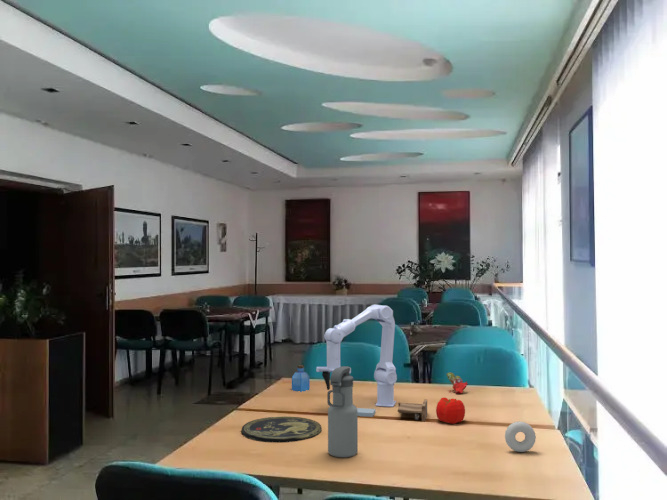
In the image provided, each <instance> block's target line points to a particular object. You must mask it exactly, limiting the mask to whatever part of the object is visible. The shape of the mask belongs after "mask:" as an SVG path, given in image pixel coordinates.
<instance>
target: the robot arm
mask: <svg viewBox="0 0 667 500" xmlns="http://www.w3.org/2000/svg"><path fill="white" fill-rule="evenodd" d="M370 319H373V320H375V321H377V322H378V323H379V324H380V325H381V326H382V328H381V340H380V341H381V342H380V343H381V344H380V355H379V356H380V357H379V362H378V363H377V364H376V367H375V370H374V372H373V373H374V374H373V378H374V380H375V381H376V384H377V385H376V386H377V387H376V390H377V391H376V393H377V395H376V396H377V397H376V398H377V399H376V400H377V401H376V403H375V407H389V408H390V407H392V408H394V407H395V405H396V403H397V400H394V399H395V397H394V395H395V390H394V389H395V387H394V386H395V383H396V382H397V380H398V375H397V372H396V370H397V368H396V366H395V365H394V363H393V359H394V358H393V357H394V356H393V355H394V345H395V343H394V342H395V329H396V327H395V326H396V321H395V318H394V310H393V309H392V308H391V307H390V306H388V305H381V304H377V303H375V304H371V305H370V306H367V308H366V309H364V310H363V311H362V312H361V313H359V314H357V315H356V316H355V317H353V318H352V319H350V318H347V319H346V318H343V320H342V322H340V323H338V324H335V325H333V327H332V328H331V327H330V328H328V329H326V331H325V333H324V335H323V338H324V340H325V341H326V366H316V369H315V370H316V372H317V373H319V372H320V373H321V376H322V379H323V380H324V382H325V386H326V390H327V391H330V389H331V384H330V379H331V373H332V372H333V371H334V369H336V368H339V367H341V342H342V340H343V339H344V338H345V337H347V336H348V335H350V334H351V333H352V332H354V331H355V330H356V327H357V326H359V325H361V324H363V323H365V322H366V321H368V320H370ZM351 373H352V368H351V367H350V371H349V374H351Z"/></svg>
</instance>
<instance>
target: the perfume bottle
mask: <svg viewBox="0 0 667 500" xmlns="http://www.w3.org/2000/svg"><path fill="white" fill-rule="evenodd" d="M296 369H297V371H295V372H294V373H293V375H292V377H291V391H292V390H293V392H298V391H300V393H302V391H303V392H307V391H310V390H311V389H310V388H311V387H310V385H311V384H310V383H311V381H310V379H311V378H310V376H309V374H308V373H307V372H306V371H305V365H303V364H302V365H301V364H298V365H297V368H296ZM309 389H310V390H309ZM306 390H307V391H306Z"/></svg>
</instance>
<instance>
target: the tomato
mask: <svg viewBox="0 0 667 500" xmlns="http://www.w3.org/2000/svg"><path fill="white" fill-rule="evenodd" d="M435 413H436V418H437V419H438V420H439V421H440V422H443V423H448V424H450V425H455V424H457V423H458V424H459V423H461V422H462V421H464V419H465V416H466V407H465V404H464V402H463V401H462V400H460V399H456V398H447V397H440V399H439V401H438V402H437V404H436V407H435Z"/></svg>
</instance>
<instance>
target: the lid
mask: <svg viewBox="0 0 667 500" xmlns="http://www.w3.org/2000/svg"><path fill="white" fill-rule="evenodd" d="M356 408H357V412H358V417H366V418H373V417H374V416H375V414H376V408H364V407H362V408H361V407H356Z"/></svg>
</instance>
